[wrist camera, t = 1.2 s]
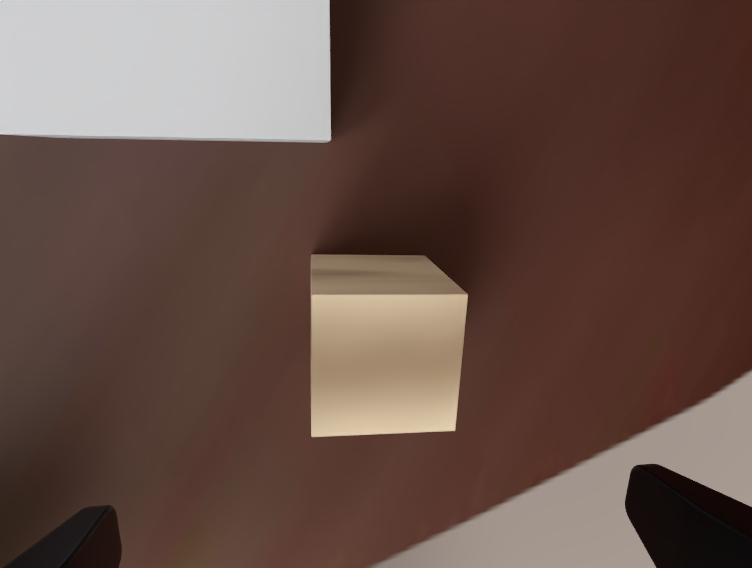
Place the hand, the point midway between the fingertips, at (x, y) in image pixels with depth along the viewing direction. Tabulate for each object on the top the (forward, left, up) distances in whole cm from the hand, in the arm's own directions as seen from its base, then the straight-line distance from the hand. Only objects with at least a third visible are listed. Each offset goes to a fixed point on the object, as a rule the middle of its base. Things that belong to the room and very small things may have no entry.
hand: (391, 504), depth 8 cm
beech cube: (-1, -1, -13) cm, 13 cm away
